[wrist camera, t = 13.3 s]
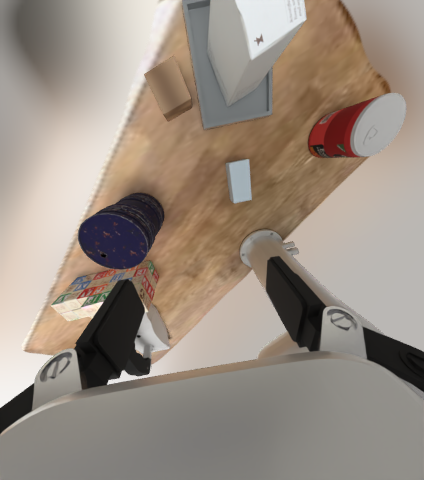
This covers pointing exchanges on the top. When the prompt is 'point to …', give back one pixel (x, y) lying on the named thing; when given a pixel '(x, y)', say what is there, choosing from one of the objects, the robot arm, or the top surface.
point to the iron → (147, 343)
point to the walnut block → (169, 88)
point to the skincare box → (249, 40)
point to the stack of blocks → (104, 290)
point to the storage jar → (122, 232)
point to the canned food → (359, 128)
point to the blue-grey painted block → (239, 180)
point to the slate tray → (206, 81)
